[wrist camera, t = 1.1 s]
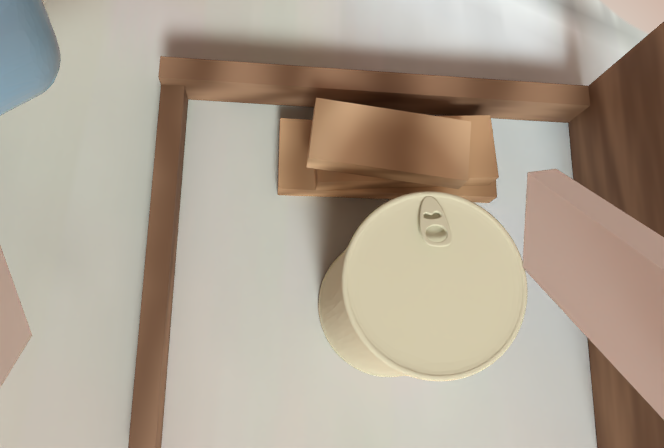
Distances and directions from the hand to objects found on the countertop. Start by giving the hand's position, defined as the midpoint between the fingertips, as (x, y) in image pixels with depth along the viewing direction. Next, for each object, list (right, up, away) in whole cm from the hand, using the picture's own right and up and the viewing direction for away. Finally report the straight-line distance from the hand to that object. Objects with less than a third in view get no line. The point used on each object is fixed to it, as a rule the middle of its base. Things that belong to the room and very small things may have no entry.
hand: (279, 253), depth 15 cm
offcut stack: (+5, +5, +27) cm, 28 cm away
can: (+5, -5, +24) cm, 25 cm away
